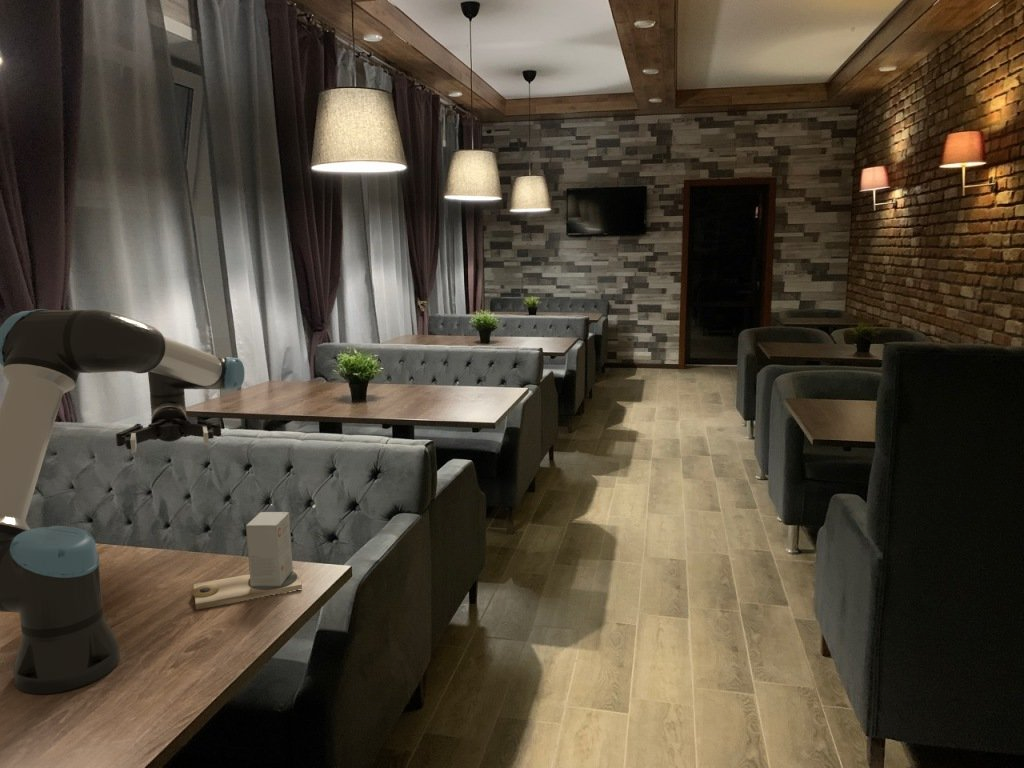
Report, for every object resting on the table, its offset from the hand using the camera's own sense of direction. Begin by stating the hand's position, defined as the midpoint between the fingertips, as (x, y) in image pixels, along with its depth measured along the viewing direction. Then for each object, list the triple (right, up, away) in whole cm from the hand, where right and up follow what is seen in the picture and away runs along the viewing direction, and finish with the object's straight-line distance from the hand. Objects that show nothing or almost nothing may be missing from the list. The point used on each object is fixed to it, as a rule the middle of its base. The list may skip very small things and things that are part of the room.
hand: (170, 442), depth 154 cm
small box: (+20, -28, +3) cm, 35 cm away
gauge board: (+15, -30, +1) cm, 34 cm away
